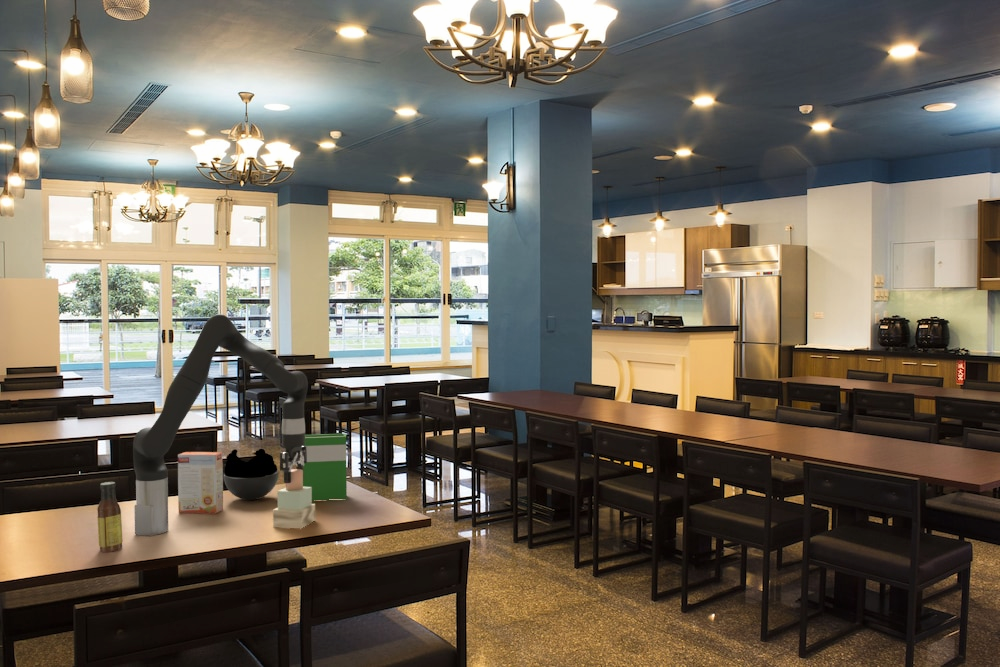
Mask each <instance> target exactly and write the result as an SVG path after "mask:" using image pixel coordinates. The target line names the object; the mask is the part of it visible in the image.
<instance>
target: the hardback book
mask: <svg viewBox="0 0 1000 667" xmlns="http://www.w3.org/2000/svg"><path fill="white" fill-rule="evenodd" d="M304 446H306V449H307V463H305V465H304V466H303V487H312V501H314V500H329V499H348V498H347V497H348V496H347V493H348V492H347V490H348V489H347V488H348V487H347V483H348V482H347V433H328V434H327V433H325V434H322V433H320V434H305V445H304ZM303 458H304V457H303Z"/></svg>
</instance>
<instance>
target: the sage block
mask: <svg viewBox="0 0 1000 667" xmlns="http://www.w3.org/2000/svg"><path fill="white" fill-rule="evenodd" d="M312 504H313V502H312V487H303V489H301V490H296V491H288V490H286V487H284V488H282V489H279V490H277V508H278V509H282V510H296V511H300V510H302V509H304V508H306V507H308V506H310V505H312Z"/></svg>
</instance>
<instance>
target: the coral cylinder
mask: <svg viewBox="0 0 1000 667" xmlns="http://www.w3.org/2000/svg"><path fill="white" fill-rule="evenodd" d="M285 488H286V490H288V491H296V490H301V489H303V470H301V469H296V468H294V469H293V468H292V469H291V483H285Z"/></svg>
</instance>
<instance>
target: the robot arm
mask: <svg viewBox="0 0 1000 667" xmlns="http://www.w3.org/2000/svg"><path fill="white" fill-rule="evenodd" d="M219 347H220V348H222V349H224V350H226V351H228V352H230V353H231V354H235V355H236V356H238V357H239V358H241V359H242V360H243V361H245V362H246V363H247V364H249V365H250V366H251V367H252V368H254V369H256V370H257V371H258V372H259V373H261V374H262V375H264V376H265V377H266V378H268V379H269V380H270V382H272V384H273V385H274V386H275V387H276V388H277V389H278V390H279V391H281V392H282V393H285V394H287V398H286V400H285V401H283V403H282V407H281V408H282V409H281V410H282V412H281V414H282V415H281V416H282V417H281V418H282V420H281V446H282V447H283V448H285V451H284V452H283V451H281V452H280V454H279V472H283V483H285V484H286V483H291V469H293V466H295V465H296V467H295V469H301V470H303V466H304V465H305V463H307V449H306V446H304V445H305V435H306V422H305V421H306V420H305V401H306V397H307V393H308V388H309V383H308V382H309V381H308V377H307V376H306V373H304V372H303V371H300V370H293V371H289V370H288V369H286V368H285V362H283V361H282V360H281V359H280V358H278V357H277V356H275V355H274V354H273V353H271V352H270V351H268V350H267V349H264V348H263V347H261V346H258V345H256V344H254V343H252V341H250V340H249V339H247V338H246V336H244V335H243V334H242V333H241V332H240V331H239V330H238V329H237V326H236V325H235V324H234V323H233V321H232V320H231V319H230V318H229V317H228V316H226V315H225V314H222V313H219V314H215V315H211V317H209V318H208V319H207V321H205V322H204V325H203V327H202V329H201V330H200V334H199V335H198V338H197V339H196V341H195V343H194V346H193V348H192V350H191V351H190V353H189V354H188V356H187V357H186V359H185V361H184V363H183V364H182V366H181V368H180V369H179V370H178V372H177V374H176V375H175V377H174V379H173V380H172V382H171V383H170V385H169V388H168V391H167V392H166V396H165V400H164V402H163V403H164V404H163V407H162V410H161V413H159V416H158V418H157V419H156V421H155V422H154V423H153V425H152V427H144V428H142V429H140V430H139V431H137V433H136V434H135V435H134V437H133V442H132V455H133V456H132V458H133V460H132V461H133V469H134V473H135V481H136V482H135V486H136V488H135V490H136V491H135V492H136V493H135V494H136V496H135V498H136V504H135V505H134V535H135V534H137V535H136V536H146V535H149V536H150V537H152V535H153V536H155V535H159V534H160V535H161V534H163V533H167V532H168V531H169V487H168V486H169V485H168V484H169V480H168V479H169V477H168V476H169V475H168V474H169V473H168V468H167V466H166V463H165V459H164V458H165V457H164V456H165V454H167V453H168V452H169V450H170V449H171V446H172V444H173V442H174V440H175V438H176V436H177V433H178V431H179V429H180V428H181V425H182V423H183V421H184V419H185V418H186V416H188V415H187V414H189V412H190V410H191V408H192V407H193V406H194V403H195V402H196V400H197V399H198V397H199V396H200V394H201V392H202V390H203V388H204V387H205V385H206V383H207V380H208V377H209V373H210V368H211V365H212V364H211V363H212V360H213V359H214V358H213V357H214V356H215V353H216V352H217V350H218V349H219ZM303 457H304V458H303ZM166 531H167V532H166ZM149 536H148V537H149Z"/></svg>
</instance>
